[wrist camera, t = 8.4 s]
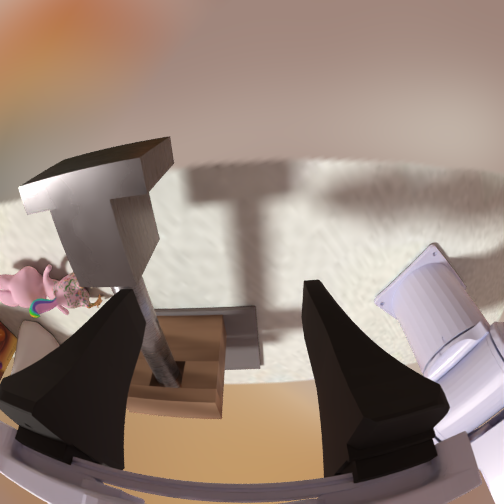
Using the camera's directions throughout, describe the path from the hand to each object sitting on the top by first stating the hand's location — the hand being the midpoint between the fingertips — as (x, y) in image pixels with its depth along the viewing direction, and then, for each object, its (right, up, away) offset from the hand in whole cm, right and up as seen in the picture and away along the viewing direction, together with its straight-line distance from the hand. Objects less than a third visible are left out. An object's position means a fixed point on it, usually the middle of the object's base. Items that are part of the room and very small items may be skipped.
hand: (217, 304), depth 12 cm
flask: (-27, -9, +18) cm, 34 cm away
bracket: (-5, -5, +15) cm, 17 cm away
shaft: (-6, 0, +7) cm, 9 cm away
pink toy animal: (-20, -1, +13) cm, 24 cm away
